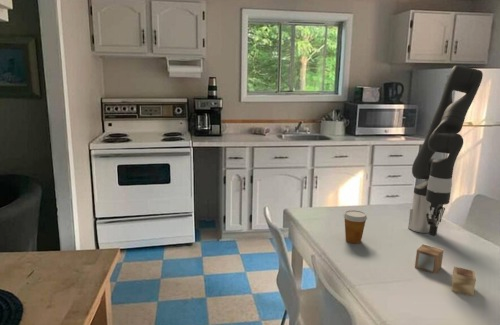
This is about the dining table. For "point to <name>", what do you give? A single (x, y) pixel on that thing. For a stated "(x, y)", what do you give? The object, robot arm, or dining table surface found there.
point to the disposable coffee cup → (354, 225)
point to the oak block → (463, 281)
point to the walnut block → (429, 258)
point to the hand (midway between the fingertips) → (432, 234)
